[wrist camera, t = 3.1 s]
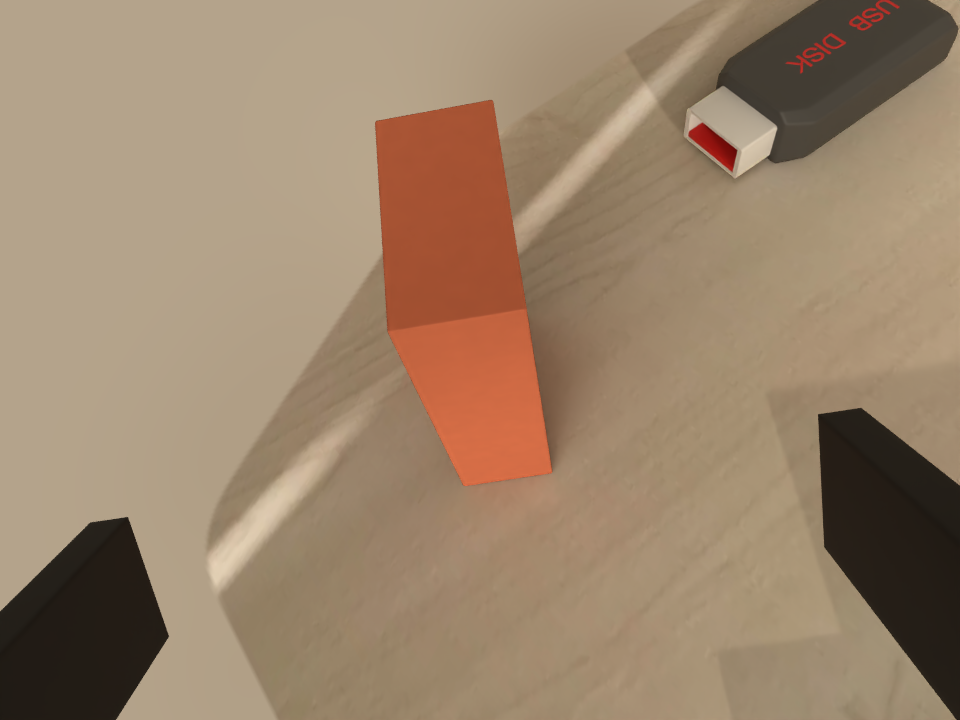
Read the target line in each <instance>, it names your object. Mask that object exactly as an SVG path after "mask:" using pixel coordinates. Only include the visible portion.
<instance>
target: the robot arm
mask: <svg viewBox="0 0 960 720" xmlns="http://www.w3.org/2000/svg"><path fill="white" fill-rule="evenodd" d="M818 422H819V443H820V465H821V486H822V508H823V529H824V547H825V549H826V550H827V551H828V553H829V554H830V555H831V556H832V558H833V559H834V560H835V562H836V563H837V564H838V566H839V567H840V568H841V569H842V571H843V572H844V573H845V575H846V576H847V577H848V579H849V580H850V581H851V583H852V584H853V585H854V586H855V588H856V589H857V590H858V592H859V593H860V594H861V596H862V597H863V598H864V599H865V601H866V602H867V603H868V605H869V606H870V607H871V609H872V610H873V611H874V613H875V614H876V615H877V616H878V618H879V619H880V620H881V622H882V623H883V624H884V626H885V627H886V628H887V629H888V631H889V632H890V633H891V635H892V636H893V637H894V639H895V640H896V641H897V643H898V644H899V645H900V646H901V648H902V649H903V650H904V652H905V653H906V654H907V656H908V657H909V658H910V659H911V661H912V662H913V663H914V665H915V666H916V667H917V669H918V670H919V671H920V673H921V674H922V675H923V676H924V678H925V679H926V680H927V682H928V683H929V684H930V686H931V687H932V688H933V689H934V691H935V692H936V693H937V695H938V696H939V697H940V699H941V700H942V701H943V703H944V704H945V705H946V706H947V708H948V709H949V710H950V712H951V713H952V714H953V716H954V717H955V718H956V719H957V720H960V485H958V484H957V483H956V482H954V481H953V480H952V479H951V478H949V477H948V476H947V475H946V474H944V473H943V472H942V471H941V470H939V469H938V468H937V467H935V466H934V465H933V464H932V463H930V462H929V461H928V460H927V459H925V458H924V457H923V456H921V455H920V454H919V453H918V452H916V451H915V450H914V449H913V448H911V447H910V446H909V445H908V444H906V443H905V442H904V441H902V440H901V439H900V438H899V437H897V436H896V435H895V434H894V433H892V432H891V431H890V430H889V429H887V428H886V427H885V426H883V425H882V424H881V423H880V422H878V421H877V420H876V419H875V418H873V417H872V416H871V415H870V414H868V413H867V412H866V411H864V410H863V409H862V408H858V409H851V410H845V411H838V412H831V413H824V414H818ZM168 637H169V635H168V632H167V630H166V627H165V624H164V621H163V618H162V615H161V612H160V609H159V607H158V603H157V600H156V597H155V594H154V592H153V589H152V586H151V583H150V580H149V577H148V574H147V571H146V569H145V565H144V563H143V560H142V557H141V554H140V551H139V548H138V545H137V542H136V539H135V536H134V533H133V530H132V527H131V525H130V522H129V519H128V517H125V518H119V519H112V520H105V521H98V522H92V523H90V524H88V526H86V527H85V529H83V530H82V531H81V532H80V533H79V534H78V535H77V536H76V537H75V538H74V540H72V541H71V542H70V543H69V544H68V545H67V546H66V547H65V548H64V549H63V550H62V551H61V552H60V553H59V554H58V555H57V556H56V557H55V558H54V559H53V560H52V561H51V562H50V563H49V564H48V565H47V566H46V567H45V568H44V569H43V570H42V571H41V572H40V573H39V574H38V575H37V576H36V577H35V578H34V579H33V580H32V581H31V582H30V583H29V584H28V585H27V586H26V587H25V588H24V589H23V590H22V591H21V592H20V593H19V594H18V595H17V596H15V598H13V599H12V600H11V601H10V602H9V603H8V604H7V605H6V606H5V607H4V608H3V609H2V610H1V611H0V720H116V719H117V717H118V716H119V714H120V713H121V711H122V709H123V708H124V706H125V705H126V703H127V701H128V700H129V698H130V697H131V695H132V694H133V692H134V691H135V689H136V687H137V686H138V684H139V683H140V681H141V680H142V678H143V676H144V675H145V673H146V672H147V670H148V669H149V667H150V665H151V664H152V662H153V661H154V659H155V658H156V656H157V654H158V653H159V651H160V650H161V648H162V647H163V645H164V644H165V642H166V640H167V639H168Z"/></svg>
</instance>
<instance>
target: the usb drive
mask: <svg viewBox="0 0 960 720" xmlns="http://www.w3.org/2000/svg"><path fill="white" fill-rule="evenodd" d="M957 33H958V26H957V25H956V23H955V21H954V19H953V17H952V16H951V14H950V13H948V12H947V11H945V10H943V9H942V8H940V7H938V6H937V5H935V4H933V3H932V2H930V1H928V0H818V1H817V2H815V3H814V4H812V5H811V6H809V7H808V8H806V9H805V10H803V11H801V12H800V13H798V14H797V15H795V16H794V17H792V18H791V19H789V20H788V21H786V22H785V23H783V24H782V25H780V26H778V27H777V28H775V29H774V30H772V31H771V32H769V33H768V34H766V35H765V36H763V37H762V38H760V39H759V40H757V41H756V42H754V43H752V44H751V45H749V46H748V47H746V48H745V49H743V50H742V51H740V52H739V53H737V54H736V55H734V56H733V57H731V58H730V59H729V60H728V61H727V63H726V64H725V66H724V68H723V69H722V71H721V73H720V74H719V77H718V82H717V87H716V90H715V91H714V92H712V93H711V94H709V95H708V96H706V97H705V98H703V99H702V100H700V101H699V102H697V103H696V104H694V105H693V106H691V107H690V108H688V109H687V115H686V122H685V129H684V137H685V138H686V139H687V140H688V141H690V142H691V143H692V144H693V145H695V146H696V147H697V148H698V149H699V150H701V151H702V152H703V153H704V154H705V155H707V156H708V157H709V158H710V159H712V160H713V161H714V162H715V163H716V164H718V165H719V166H720V167H721V168H723V169H724V170H725V171H726V172H727V173H729V174H730V175H731V176H732V177H734V178H737V177H738V176H740V175H741V174H742V173H744V172H745V171H747V170H748V169H750V168H751V167H753V166H754V165H756V164H757V163H758V162H760V161H761V160H763V159H764V158H766V157H767V158H768V159H770V160H771V161H772V162H774V163H777V162H783V161H788V160H793V159H798V158H803V157H805V156H807V155H809V154H810V153H812V152H813V151H815V150H816V149H818V148H819V147H820V146H822V145H823V144H825V143H826V142H828V141H829V140H830V139H832V138H833V137H835V136H836V135H838V134H839V133H841V132H842V131H843V130H845V129H846V128H848V127H849V126H851V125H852V124H853V123H855V122H856V121H858V120H859V119H861V118H862V117H863V116H865V115H866V114H868V113H869V112H871V111H872V110H874V109H875V108H876V107H878V106H879V105H881V104H882V103H884V102H885V101H886V100H888V99H889V98H891V97H892V96H894V95H895V94H896V93H898V92H899V91H901V90H902V89H904V88H905V87H907V86H908V85H909V84H911V83H912V82H914V81H915V80H917V79H918V78H919V77H921V76H922V75H924V74H925V73H927V72H928V71H929V70H931V69H932V68H934V67H935V66H937V65H938V64H939V63H941V62H942V61H943V60H944V59H945V58H946V57H947V55H948V53H949V51H950V49H951V47H952V45H953V43H954V41H955V39H956V36H957Z"/></svg>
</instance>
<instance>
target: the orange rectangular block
mask: <svg viewBox="0 0 960 720" xmlns="http://www.w3.org/2000/svg"><path fill="white" fill-rule="evenodd" d="M375 128H376V145H377V162H378V179H379V195H380V212H381V229H382V246H383V263H384V280H385V296H386V313H387V330H388V334H389V336H390V338H391V340H392V342H393V344H394V346H395V348H396V350H397V352H398V354H399V356H400V358H401V360H402V362H403V364H404V366H405V368H406V370H407V372H408V374H409V376H410V378H411V380H412V382H413V384H414V386H415V388H416V390H417V392H418V394H419V396H420V398H421V400H422V402H423V404H424V406H425V408H426V410H427V413H428V415H429V417H430V419H431V421H432V423H433V425H434V427H435V429H436V431H437V433H438V435H439V437H440V439H441V441H442V443H443V445H444V447H445V449H446V451H447V453H448V455H449V457H450V459H451V461H452V463H453V465H454V467H455V469H456V471H457V473H458V475H459V477H460V479H461V481H462V483H463V485H464V486H468V485H475V484H481V483H488V482H495V481H502V480H508V479H515V478H522V477H528V476H535V475H542V474H549V473H552V466H551V460H550V454H549V447H548V441H547V435H546V428H545V422H544V416H543V409H542V403H541V397H540V390H539V384H538V378H537V371H536V365H535V359H534V352H533V346H532V340H531V334H530V327H529V321H528V315H527V308H526V302H525V296H524V290H523V283H522V277H521V271H520V265H519V259H518V252H517V246H516V240H515V234H514V227H513V221H512V215H511V209H510V203H509V196H508V190H507V184H506V178H505V172H504V165H503V159H502V153H501V147H500V140H499V134H498V128H497V122H496V116H495V110H494V104H493V101H492V100H488V101H483V102H478V103H472V104H466V105H461V106H455V107H450V108H445V109H439V110H433V111H428V112H423V113H418V114H412V115H406V116H401V117H396V118H390V119H385V120H379V121H376V122H375Z"/></svg>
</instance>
